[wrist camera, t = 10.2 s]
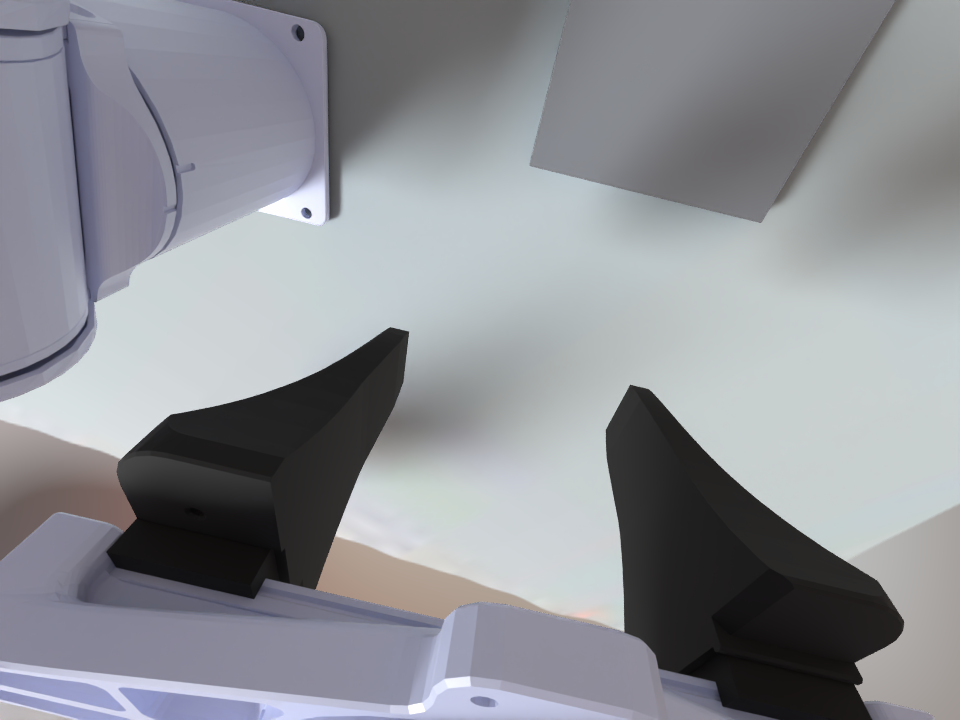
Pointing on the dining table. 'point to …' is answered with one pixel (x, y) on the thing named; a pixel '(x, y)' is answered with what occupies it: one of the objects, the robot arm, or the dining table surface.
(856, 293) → the dining table surface
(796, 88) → the slate stand
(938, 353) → the dining table surface
